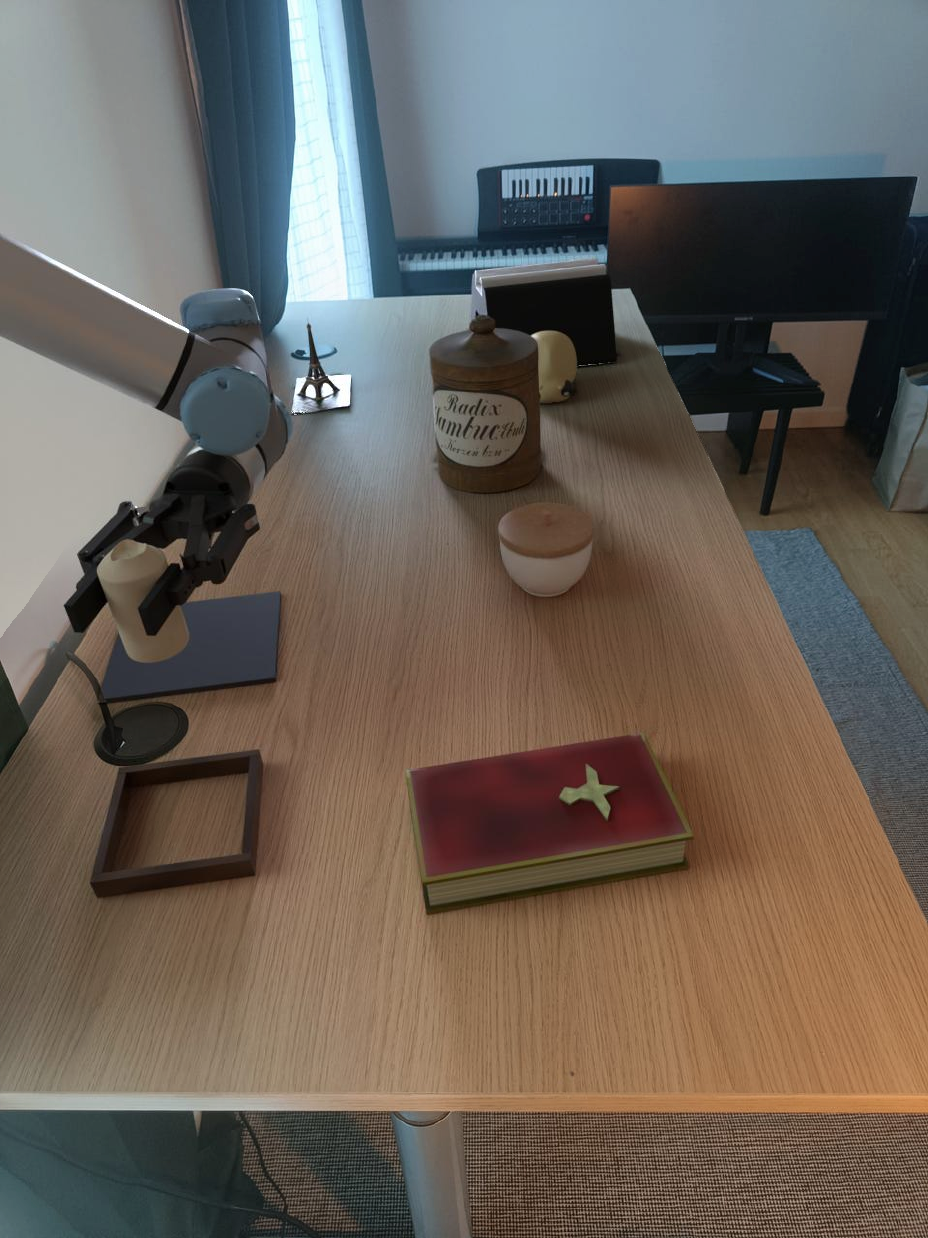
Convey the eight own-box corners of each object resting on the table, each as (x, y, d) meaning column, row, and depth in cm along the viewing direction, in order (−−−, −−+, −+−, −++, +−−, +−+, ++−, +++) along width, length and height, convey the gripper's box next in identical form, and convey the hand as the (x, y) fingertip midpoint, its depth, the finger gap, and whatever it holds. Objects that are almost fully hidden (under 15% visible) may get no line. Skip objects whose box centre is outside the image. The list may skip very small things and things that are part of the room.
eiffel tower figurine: (351, 409, 146) (340, 329, 138) (290, 414, 146) (276, 335, 138) (351, 376, 158) (341, 301, 150) (295, 381, 158) (282, 306, 150)
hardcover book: (408, 798, 76) (404, 764, 74) (639, 760, 78) (643, 726, 76) (426, 914, 67) (421, 880, 64) (688, 868, 69) (694, 833, 66)
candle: (124, 634, 79) (90, 539, 73) (186, 619, 80) (158, 525, 74) (127, 670, 74) (91, 573, 68) (193, 654, 76) (163, 557, 70)
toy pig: (520, 416, 149) (520, 394, 138) (515, 348, 150) (515, 322, 139) (578, 411, 148) (582, 389, 138) (573, 343, 149) (577, 316, 139)
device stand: (470, 338, 172) (466, 258, 163) (580, 325, 174) (582, 246, 165) (494, 378, 154) (491, 291, 145) (616, 364, 156) (621, 277, 147)
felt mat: (98, 704, 89) (96, 700, 88) (126, 613, 101) (125, 609, 101) (276, 681, 90) (275, 677, 90) (281, 594, 103) (280, 590, 102)
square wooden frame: (96, 898, 70) (89, 882, 68) (124, 782, 80) (118, 767, 78) (255, 875, 71) (250, 859, 69) (263, 764, 81) (259, 748, 79)
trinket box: (590, 611, 97) (592, 539, 91) (494, 606, 99) (491, 535, 93) (593, 559, 105) (596, 490, 100) (505, 555, 107) (504, 487, 101)
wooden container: (424, 488, 122) (409, 332, 109) (455, 443, 133) (446, 296, 120) (526, 499, 118) (524, 338, 105) (550, 451, 129) (551, 300, 116)
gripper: (310, 517, 88) (230, 662, 70) (139, 513, 91) (19, 652, 73) (297, 449, 84) (209, 585, 66) (118, 447, 87) (-15, 578, 68)
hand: (110, 620), depth 69 cm, fingers closed on candle, 5 cm apart
